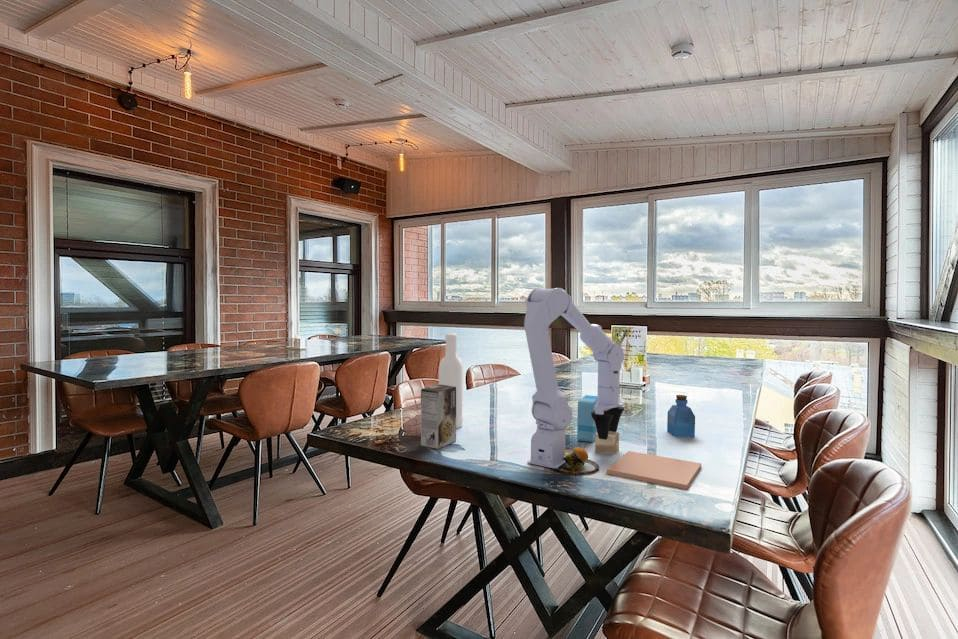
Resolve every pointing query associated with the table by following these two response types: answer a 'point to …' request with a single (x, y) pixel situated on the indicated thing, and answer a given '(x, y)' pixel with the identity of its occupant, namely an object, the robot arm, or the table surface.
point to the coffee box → (438, 416)
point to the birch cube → (607, 443)
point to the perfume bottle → (681, 419)
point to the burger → (578, 462)
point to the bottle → (453, 374)
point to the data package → (586, 419)
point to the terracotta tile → (655, 469)
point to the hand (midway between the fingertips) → (607, 435)
